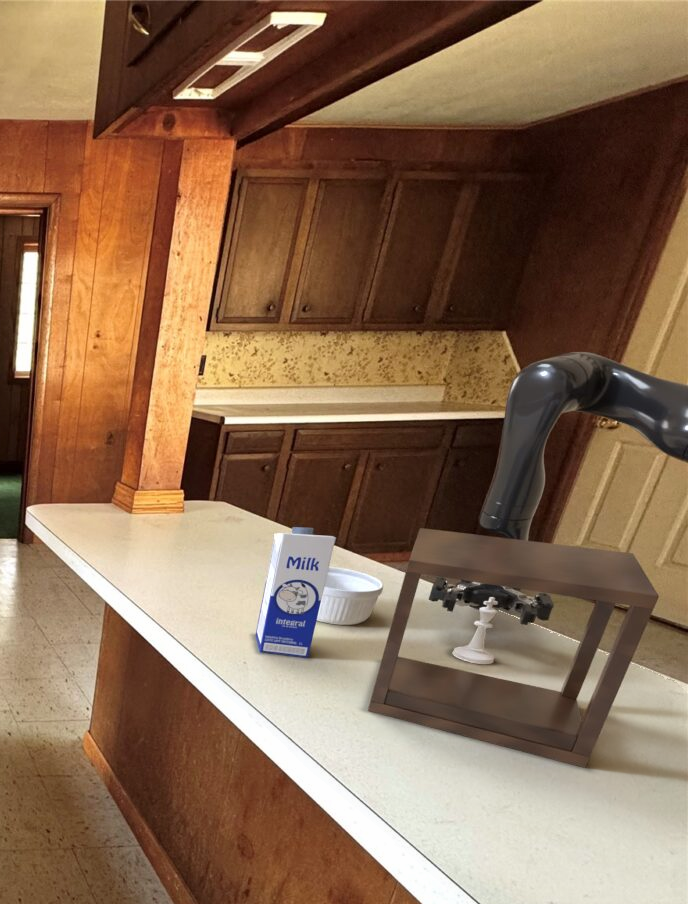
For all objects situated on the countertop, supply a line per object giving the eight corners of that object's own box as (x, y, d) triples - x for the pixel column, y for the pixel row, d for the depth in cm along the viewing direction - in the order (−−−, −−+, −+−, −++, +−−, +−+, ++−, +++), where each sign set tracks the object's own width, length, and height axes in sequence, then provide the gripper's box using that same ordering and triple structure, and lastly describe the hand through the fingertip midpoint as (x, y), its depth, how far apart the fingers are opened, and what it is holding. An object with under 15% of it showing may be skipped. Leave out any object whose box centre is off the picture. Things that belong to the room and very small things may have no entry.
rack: (571, 704, 89) (633, 553, 81) (585, 768, 77) (659, 596, 69) (382, 662, 102) (420, 527, 94) (367, 710, 89) (409, 560, 81)
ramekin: (393, 622, 116) (403, 585, 113) (334, 633, 112) (343, 595, 110) (326, 596, 127) (334, 562, 125) (271, 605, 124) (278, 571, 121)
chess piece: (502, 664, 100) (523, 603, 97) (469, 664, 100) (489, 604, 97) (475, 650, 105) (495, 591, 101) (444, 650, 105) (462, 592, 101)
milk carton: (258, 652, 106) (282, 532, 99) (254, 635, 112) (276, 521, 105) (309, 658, 104) (337, 536, 97) (301, 640, 110) (328, 524, 102)
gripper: (441, 553, 113) (434, 579, 102) (555, 569, 105) (562, 599, 93) (429, 594, 116) (421, 623, 105) (539, 612, 107) (544, 647, 96)
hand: (488, 612), depth 99 cm, fingers open, 8 cm apart
